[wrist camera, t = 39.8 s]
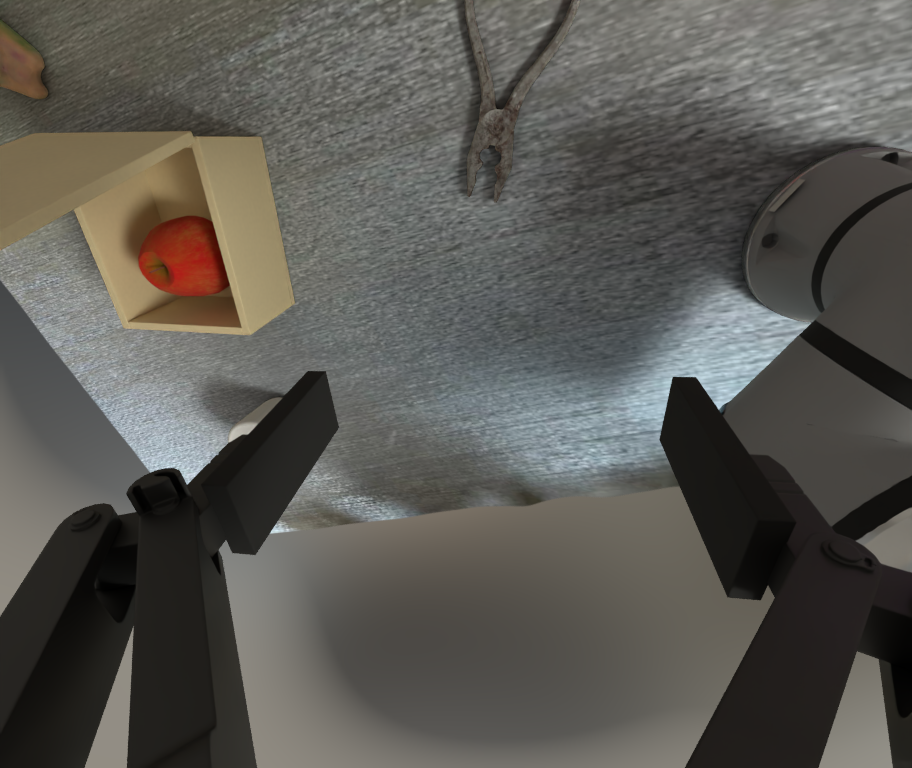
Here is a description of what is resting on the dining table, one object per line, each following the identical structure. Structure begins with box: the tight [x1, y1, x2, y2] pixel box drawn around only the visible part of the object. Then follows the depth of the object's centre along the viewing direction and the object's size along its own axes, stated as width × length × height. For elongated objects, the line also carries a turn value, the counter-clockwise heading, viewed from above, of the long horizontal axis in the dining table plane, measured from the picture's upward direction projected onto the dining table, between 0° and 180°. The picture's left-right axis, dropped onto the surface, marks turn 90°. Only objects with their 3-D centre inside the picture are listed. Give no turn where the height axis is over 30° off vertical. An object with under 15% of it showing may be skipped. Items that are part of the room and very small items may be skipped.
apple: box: [138, 216, 230, 296], centre depth 45 cm, size 8×8×11 cm
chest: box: [74, 136, 295, 335], centre depth 45 cm, size 18×15×10 cm
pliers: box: [464, 0, 580, 202], centre depth 38 cm, size 10×1×20 cm
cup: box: [228, 397, 282, 443], centre depth 57 cm, size 11×8×8 cm
